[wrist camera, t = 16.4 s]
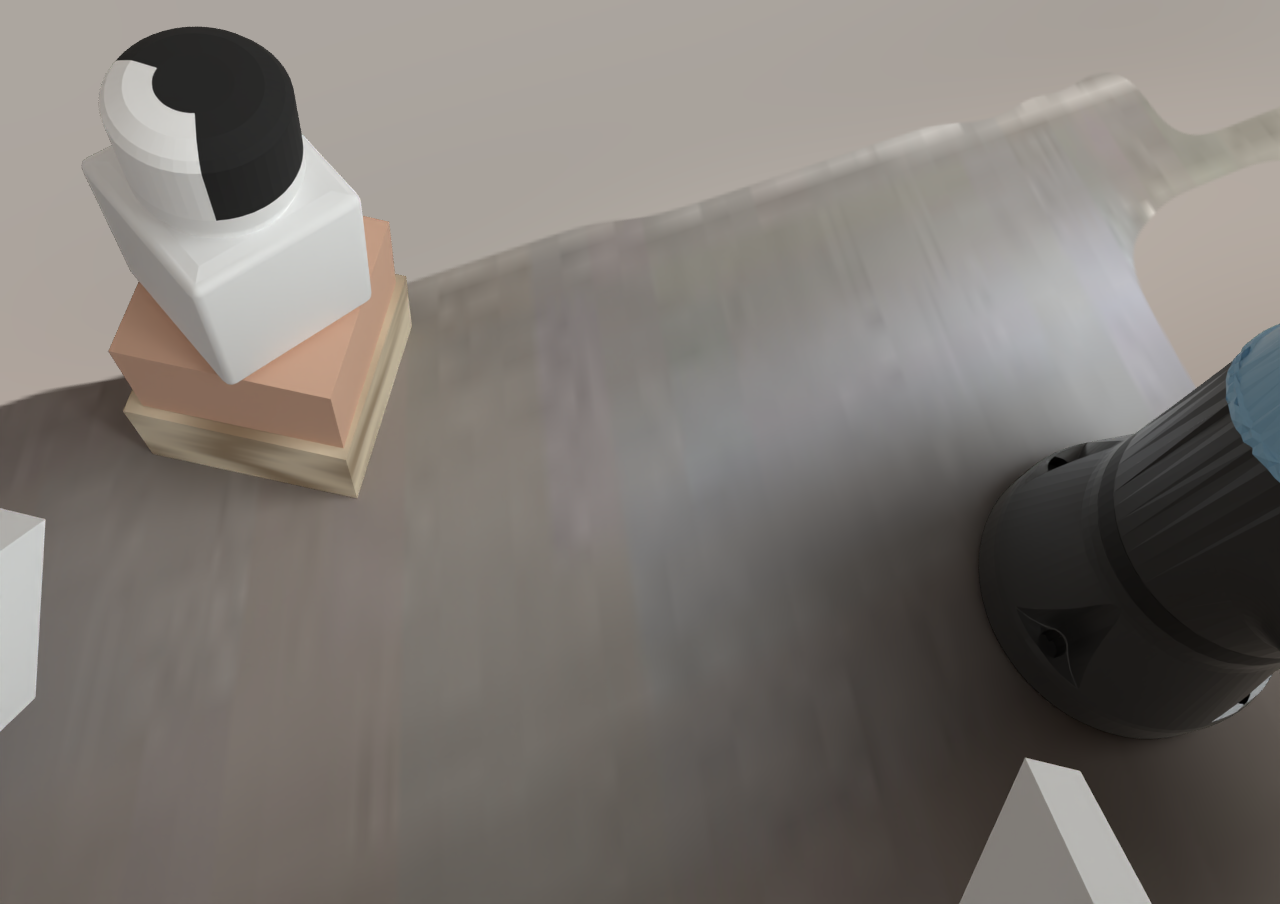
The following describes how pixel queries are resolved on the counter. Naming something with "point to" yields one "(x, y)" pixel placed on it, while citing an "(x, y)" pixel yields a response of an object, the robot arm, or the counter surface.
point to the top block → (276, 393)
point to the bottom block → (284, 453)
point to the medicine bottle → (225, 198)
